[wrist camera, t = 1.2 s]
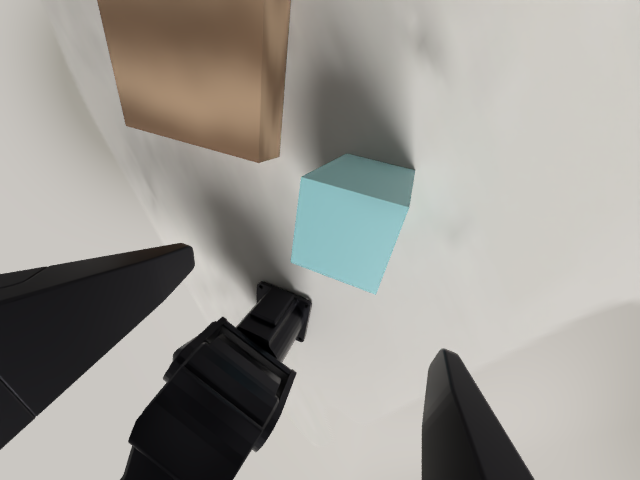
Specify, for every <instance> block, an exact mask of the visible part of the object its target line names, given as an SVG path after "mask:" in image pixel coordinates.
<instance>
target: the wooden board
mask: <svg viewBox="0 0 640 480" xmlns="http://www.w3.org/2000/svg"><path fill="white" fill-rule="evenodd" d="M97 1H98V6H99V10H100V15H101V19H102V23H103V28H104V32H105V36H106V41H107V45H108V49H109V54H110V58H111V62H112V67H113V71H114V76H115V80H116V84H117V89H118V93H119V97H120V102H121V106H122V110H123V115H124V119H125V124H126V126H129V127H132V128H136V129H139V130H143V131H147V132H150V133H154V134H157V135H161V136H164V137H168V138H172V139H175V140H179V141H182V142H186V143H189V144H193V145H196V146H200V147H204V148H207V149H211V150H214V151H218V152H221V153H225V154H229V155H232V156H236V157H239V158H243V159H246V160H250V161H254V162H257V163H260V162H263V161H267V160H270V159H273V158H277V157H279V155H280V141H281V127H282V114H283V100H284V86H285V72H286V59H287V45H288V31H289V18H290V4H291V0H97Z"/></svg>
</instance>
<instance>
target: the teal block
mask: <svg viewBox="0 0 640 480" xmlns="http://www.w3.org/2000/svg"><path fill="white" fill-rule="evenodd" d="M414 174H415V170H412V169H408V168H404V167H400V166H396V165H392V164H388V163H384V162H380V161H376V160H371V159H367V158H363V157H359V156H355V155H351V154H345V155H343V156H341V157H339V158H337V159H335V160H333V161H331V162H329V163H327V164H325V165H323V166H321V167H319V168H318V169H316V170H314V171H312V172H310V173H308V174H306V175H304V176H302V177H301V183H300V191H299V199H298V207H297V215H296V223H295V231H294V239H293V247H292V256H291V263H293V264H296V265H299V266H301V267H304V268H307V269H309V270H312V271H315V272H317V273H320V274H322V275H325V276H328V277H330V278H333V279H336V280H338V281H341V282H344V283H346V284H349V285H352V286H354V287H357V288H360V289H362V290H365V291H368V292H370V293H373V294H375V295H376V293H377V290H378V288H379V285H380V282H381V280H382V277H383V275H384V272H385V269H386V267H387V264H388V261H389V259H390V256H391V254H392V251H393V248H394V246H395V243H396V241H397V238H398V235H399V233H400V230H401V227H402V225H403V222H404V220H405V217H406V214H407V212H408V209H409V205H410V199H411V193H412V187H413V181H414Z"/></svg>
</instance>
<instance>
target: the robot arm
mask: <svg viewBox="0 0 640 480" xmlns="http://www.w3.org/2000/svg"><path fill="white" fill-rule="evenodd" d="M194 266H195V261H194V253H193V248H192V247H191V246H189V245H186V244H184V243H177V244H172V245H166V246H160V247H155V248H149V249H143V250H138V251H132V252H126V253H121V254H115V255H109V256H103V257H98V258H92V259H86V260H81V261H75V262H70V263H64V264H58V265H52V266H49V267H41V268H35V269H29V270H23V271H17V272H11V273H5V274H0V450H1V449H2V448H3V447H4V446H5V445H6V444H7V443H8V442H9V441H10V440H12V439H13V438H14V437H15V436H16V435H17V434H18V433H19V432H20V431H21V430H22V429H23V428H25V427H26V426H27V425H28V424H29V423H30V422H31V421H32V420H33V419H35V417H36V416H38V415H39V414H40V413H41V412H42V411H43V410H44V409H45V408H46V407H48V406H49V405H50V404H51V403H52V402H53V401H54V400H55V399H56V398H57V397H59V396H60V395H61V394H62V393H63V392H64V391H65V390H66V389H67V388H69V387H70V386H71V385H72V384H73V383H74V382H75V381H76V380H77V379H78V378H79V377H81V376H82V375H83V374H84V373H85V372H86V371H87V370H88V369H89V368H91V367H92V366H93V365H94V364H95V363H96V362H97V361H98V360H99V359H100V358H102V357H103V356H104V355H105V354H106V353H107V352H108V351H109V350H110V349H112V347H114V346H115V345H116V344H117V343H118V342H119V341H120V340H121V339H123V337H125V336H126V335H127V334H128V333H129V332H130V331H131V330H132V329H134V328H135V327H136V326H137V325H138V324H139V323H140V322H141V321H142V320H143V319H144V318H145V317H147V316H148V315H149V314H150V313H151V312H152V311H153V310H154V309H156V307H158V306H159V305H160V304H161V303H162V302H163V301H164V300H165V299H166V298H167V297H168V296H169V295H170V294H171V293H172V292H173V291H174V290H175V288H176V287H177V286H178V285H179V284H180V283H181V282H182V281H183V280H184V279H185V278H186V277H187V275H188V274H189V273H190V272H191V271H192V270H193V268H194ZM306 304H307V305H306ZM311 307H312V303H311V302H310V301H309V300H307V299H305V298H302V297H300V296H297V295H295V294H292V293H290V292H288V291H285V290H283V289H280V288H278V287H275V286H273V285H271V284H268V283H266V282H263V281H260V282H259V283H258V285H257V304H256V305H255V306H254V307H253V308H252V309H251V311H250V312H249V313H248V314H247V315H246V316H245V317H244V319H243V320H242V321H241V322H240V323H239V324H238V325H237V326H236V327H234V326H233V325H232V324H231V323H229V322H228V321H227V319H226V318H224V317H222V318H220V319H219V320H218V321H217V322H216V321H215V322H212V323H211V324H210V325H209V326H208V327H207V328H206V329H205V330H204V331H203V332H202V333H200V334H199V335H198V336H197V337H195V338H194V339H192V340H191V341H189V342H187V343H186V344H184V345H183V346H181V347H180V348H179V349H177V350H176V351H175V352H174V354H173V362H172V364H171V365H170V367H169V369H168V370H167V372H166V373H165V375H164V377H163V380H165V381H166V382H167V383H166V384H165V385H164V387H163V388H162V389H161V390H160V391H159V393H158V394H157V395H156V397H154V399H153V400H152V401H151V402H150V403H149V405H148V406H147V407H146V408H145V410H144V411H143V413H142V414H141V415H140V416H139V418H138V419H137V420H136V422H135V425H134V427H133V430H132V433H131V435H130V437H129V441H128V442H129V443H130V444H131V445H132V449H131V451H130V455H129V458H128V462H127V465H126V468H125V472H124V475H123V477H122V478H121V479H120V480H233V479H234V477H235V476H236V474H237V472H238V471H239V469H240V468H241V466H242V464H243V463H244V461H245V459H246V458H247V456H248V454H249V453H250V451H251V450H254V451H255V452H257V451H258V450H259V449H260V448H261V447H262V446H263V444H264V443H265V442H266V440H267V439H268V437H269V436H270V434H271V432H272V430H273V429H274V427H275V425H276V423H277V421H278V419H279V417H280V415H281V413H282V410H283V408H284V405H285V402H286V400H287V397H288V394H289V392H290V389H291V386H292V384H293V381H294V378H295V376H296V372H295V371H294V370H292V369H289V368H288V367H287V366H285V365H284V364H283V363H282V362H283V360H284V358H285V357H286V355H287V353H288V351H289V350H290V348H291V346H292V344H293V343H294V341H295V340H297V341H299V342H303V341H304V339H305V336H306V332H307V327H308V322H309V317H310V312H311ZM422 480H534V478H533V476H532V475H531V473H530V471H529V470H528V468H527V466H526V465H525V463H524V461H523V460H522V459H521V457H520V455H519V453H518V452H517V450H516V448H515V447H514V445H513V443H512V442H511V440H510V439H509V437H508V435H507V434H506V432H505V430H504V429H503V427H502V426H501V424H500V422H499V421H498V419H497V417H496V416H495V414H494V412H493V411H492V410H491V408H490V406H489V404H488V403H487V401H486V399H485V398H484V396H483V395H482V393H481V391H480V390H479V388H478V386H477V385H476V383H475V381H474V380H473V378H472V376H471V375H470V373H469V372H468V370H467V368H466V367H465V365H464V363H463V362H462V360H461V358H460V357H459V356H458V355H457V354H456V353H454V352H452V351H449V350H447V349H441V350H440V351H439V352H438V354H437V355H436V357H435V358H434V360H433V361H432V363H431V364H430V366H429V370H428V377H427V386H426V395H425V404H424V412H423V422H422Z"/></svg>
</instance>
